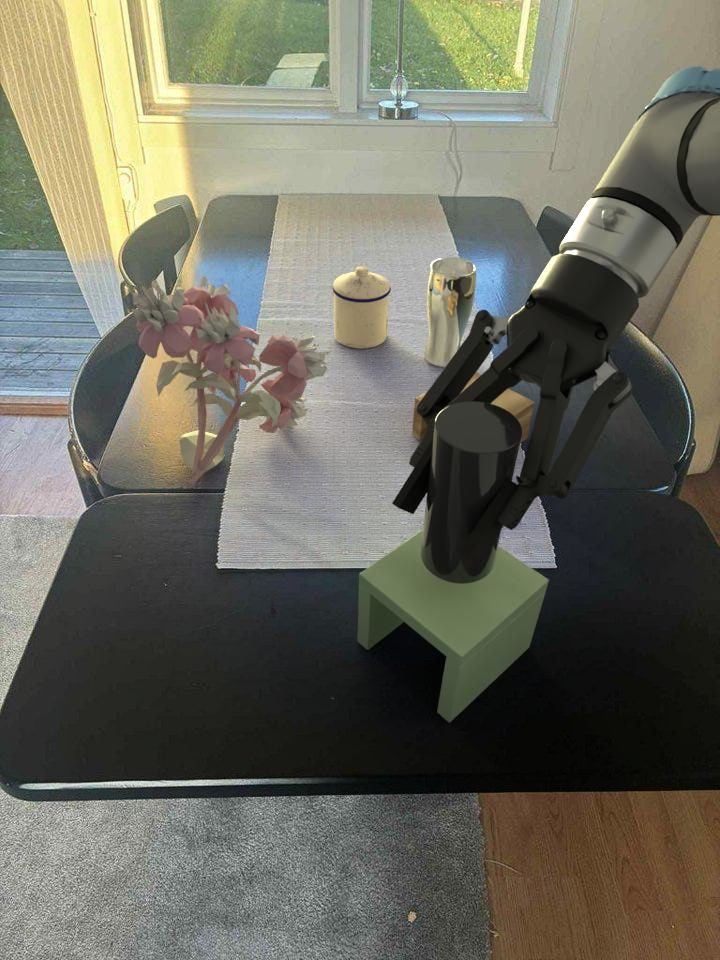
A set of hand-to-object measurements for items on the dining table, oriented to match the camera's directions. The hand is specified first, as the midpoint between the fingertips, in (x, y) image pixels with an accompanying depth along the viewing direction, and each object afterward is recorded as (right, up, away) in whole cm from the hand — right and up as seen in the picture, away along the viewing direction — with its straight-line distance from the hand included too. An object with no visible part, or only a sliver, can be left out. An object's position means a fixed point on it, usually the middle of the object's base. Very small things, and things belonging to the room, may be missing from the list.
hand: (435, 531), depth 55 cm
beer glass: (+7, +23, +55) cm, 60 cm away
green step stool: (+2, -12, +14) cm, 18 cm away
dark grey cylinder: (+2, -3, +5) cm, 6 cm away
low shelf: (+9, +10, +39) cm, 41 cm away
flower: (-21, +10, +38) cm, 45 cm away
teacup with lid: (-7, +28, +60) cm, 67 cm away
